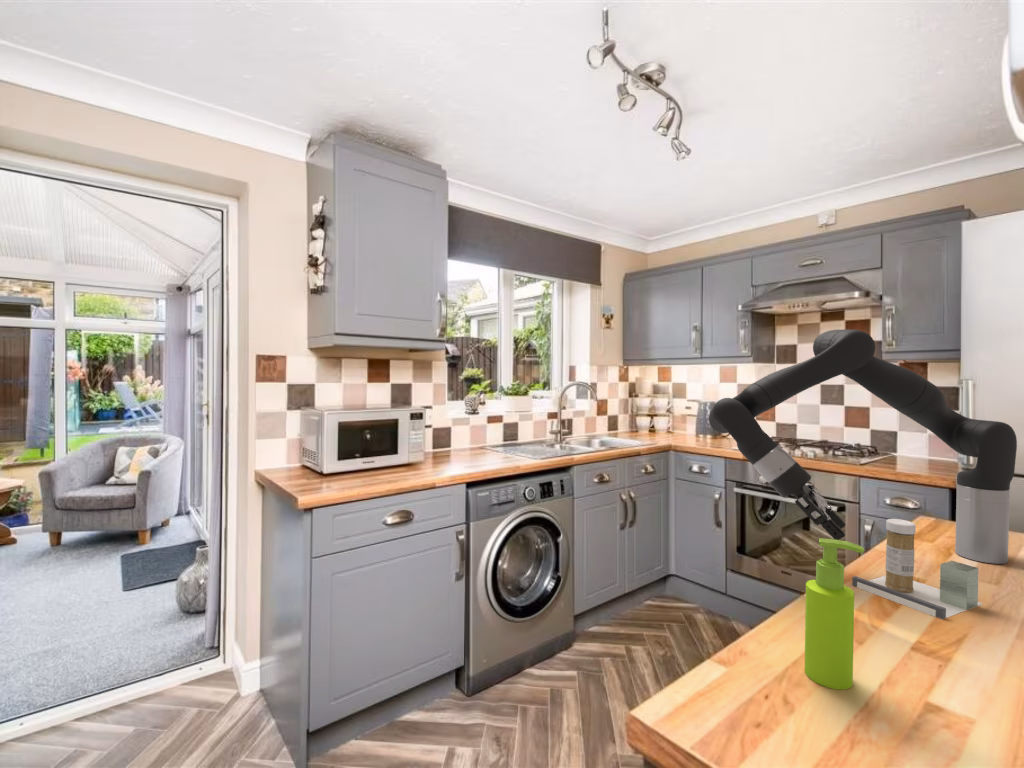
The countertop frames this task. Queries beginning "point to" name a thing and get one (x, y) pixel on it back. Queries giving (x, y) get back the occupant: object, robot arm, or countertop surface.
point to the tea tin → (959, 584)
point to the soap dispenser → (830, 620)
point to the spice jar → (900, 555)
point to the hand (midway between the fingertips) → (841, 532)
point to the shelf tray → (911, 597)
